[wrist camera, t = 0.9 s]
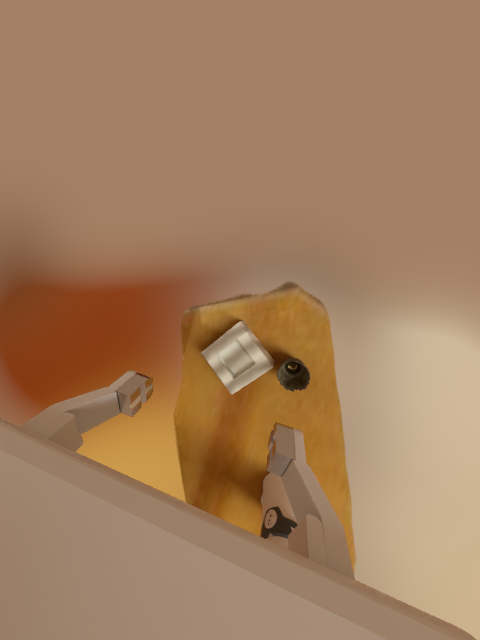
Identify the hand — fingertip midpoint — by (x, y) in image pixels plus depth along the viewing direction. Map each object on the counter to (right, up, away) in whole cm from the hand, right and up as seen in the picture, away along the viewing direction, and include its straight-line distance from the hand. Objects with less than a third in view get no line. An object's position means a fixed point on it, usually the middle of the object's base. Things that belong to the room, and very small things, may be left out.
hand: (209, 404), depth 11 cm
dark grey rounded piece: (+17, -7, +37) cm, 41 cm away
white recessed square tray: (+2, -5, +41) cm, 42 cm away
